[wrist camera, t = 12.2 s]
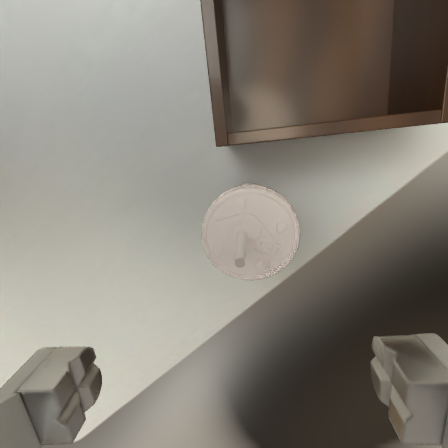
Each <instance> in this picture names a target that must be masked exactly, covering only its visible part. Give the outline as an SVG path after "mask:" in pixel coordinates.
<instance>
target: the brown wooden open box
mask: <svg viewBox="0 0 448 448" xmlns="http://www.w3.org/2000/svg"><path fill="white" fill-rule="evenodd" d="M200 1H201V10H202V19H203V29H204V38H205V47H206V56H207V66H208V75H209V84H210V93H211V102H212V112H213V121H214V130H215V139H216V146H217V147H221V146H228V145H229V146H230V145H240V144H249V143H259V142H268V141H277V140H287V139H296V138H306V137H315V136H325V135H334V134H344V133H353V132H363V131H372V130H381V129H391V128H400V127H410V126H419V125H429V124H438V123H448V0H200Z"/></svg>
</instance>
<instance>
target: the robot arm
mask: <svg viewBox="0 0 448 448" xmlns="http://www.w3.org/2000/svg"><path fill="white" fill-rule="evenodd" d="M372 350H373V352H374V353H375V355H376V356H375V357H374V359H373V360H372V361H371V370H370V372H371V378H372V383H373V385H374V388H375V391H376V393H377V395H378V397H379V399H380V401H382V402H383V403H384V404H386V405H387V406H388V407H389V414H388V417H389V419H390V421H391V423H392V425H393V427H394V429H395V431H396V433H397V435H398V436H399V438H400V440H401V442H402V444H416V445H442V448H448V345H447V344H446V343H445V342H444V341H443V340H442V339H441V338H440V337H439V336H438V335H436V334H434V333H427V334H413V335H396V336H395V335H394V336H374V338H373V340H372ZM95 359H96V355H95V352H94V349H93V348H91V347H44V348H41V349H39V350H37V351H36V352H35V353H34V354H33V355H32V356H31V357H30V358H29V359H28V360H27V362H26V363H25V364H24V365H23V366H22V367H21V368H20V369H19V370H18V371H17V372H16V373H15V374H14V375H13V376H12V377H11V378H10V379H9V380H8V381H7V382H6V383H5V384H4V385H3V386H2V387H1V388H0V448H41V447H42V446H41V445H58V444H72V443H73V441H74V440H75V438H76V436H77V434H78V432H79V431H80V429H81V427H82V425H83V424H84V422H85V420H86V417H85V411H87V410H88V409H89V408H90V407H91V406H93V405H94V404H95V402H96V400H97V398H98V396H99V394H100V390H101V386H102V375H101V371H100V369H99V368H98V367H97V366H96V365H95V364H94V361H95Z"/></svg>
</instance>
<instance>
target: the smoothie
mask: <svg viewBox="0 0 448 448" xmlns="http://www.w3.org/2000/svg"><path fill="white" fill-rule="evenodd" d="M201 237H202V244H203V247H204V250H205V252H206V254H207V256H208V258H209V259H210V261H211V262H212V263H213V264H214V265H215V266H216V267H217V268H218V269H219V270H221V271H222V272H224V273H225V274H227V275H229V276H232V277H234V278H238V279H242V280H259V279H264V278H267V277H270V276H272V275H274V274H276V273H278V272H279V271H281V270H282V269H283V268H285V267H286V266H287V265H288V263H289V262H290V261H291V260H292V258H293V257H294V255H295V253H296V251H297V248H298V245H299V239H300V230H299V224H298V220H297V216H296V214H295V212H294V210H293V208H292V206H291V205H290V204H289V203H288V201H287V200H286V199H285V198H284V197H283V196H282V195H280V194H279V193H277V192H275V191H274V190H272V189H269V188H266V187H263V186H260V185H257V184H253V183H246V184H243V185H240V186H238V187H234V188H232V189H230V190H228V191H226V192H224V193H222V194H221V195H220V196H219V197H218V198H216V199H215V200H214V201H213V202H212V204H211V205H210V207H209V209H208V210H207V212H206V215H205V218H204V221H203V224H202V232H201Z"/></svg>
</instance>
